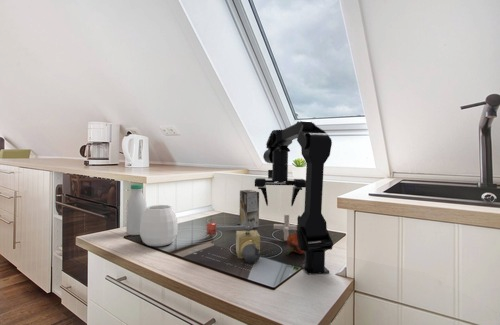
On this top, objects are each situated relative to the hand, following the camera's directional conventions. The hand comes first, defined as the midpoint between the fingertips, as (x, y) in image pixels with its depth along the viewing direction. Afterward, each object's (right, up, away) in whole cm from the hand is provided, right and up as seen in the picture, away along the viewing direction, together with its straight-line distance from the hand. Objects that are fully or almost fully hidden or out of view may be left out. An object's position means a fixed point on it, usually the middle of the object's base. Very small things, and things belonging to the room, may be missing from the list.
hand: (279, 205), depth 109 cm
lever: (-18, -7, -13) cm, 23 cm away
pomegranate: (+5, -15, -10) cm, 19 cm away
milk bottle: (-58, -13, +11) cm, 60 cm away
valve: (-12, -14, -12) cm, 22 cm away
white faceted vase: (-44, -14, -2) cm, 47 cm away
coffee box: (-12, -13, +27) cm, 32 cm away
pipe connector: (+3, -14, +5) cm, 15 cm away
